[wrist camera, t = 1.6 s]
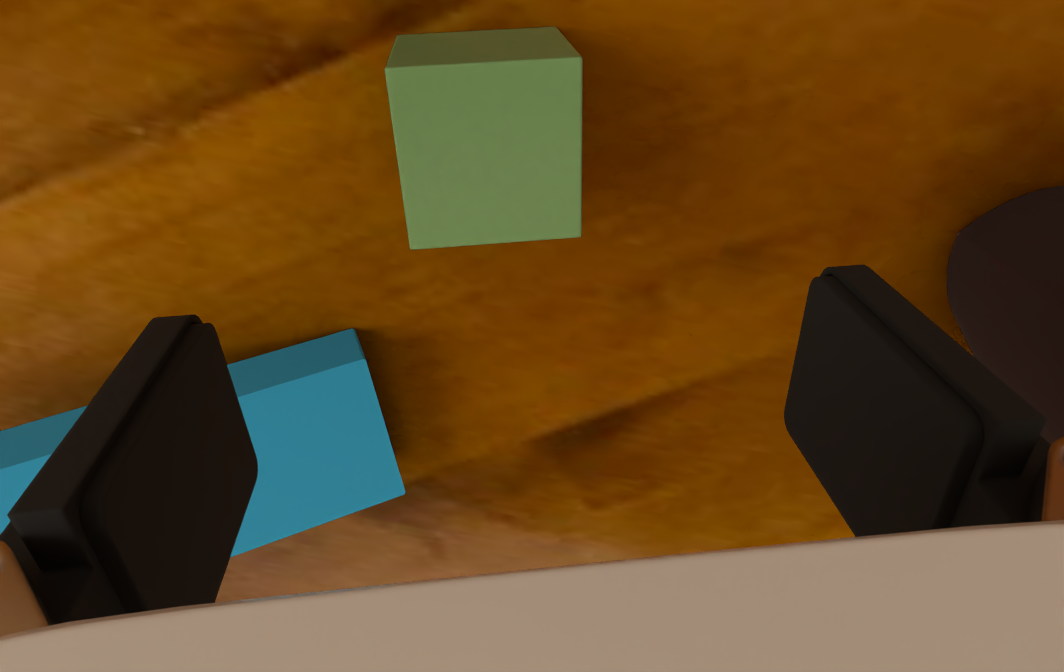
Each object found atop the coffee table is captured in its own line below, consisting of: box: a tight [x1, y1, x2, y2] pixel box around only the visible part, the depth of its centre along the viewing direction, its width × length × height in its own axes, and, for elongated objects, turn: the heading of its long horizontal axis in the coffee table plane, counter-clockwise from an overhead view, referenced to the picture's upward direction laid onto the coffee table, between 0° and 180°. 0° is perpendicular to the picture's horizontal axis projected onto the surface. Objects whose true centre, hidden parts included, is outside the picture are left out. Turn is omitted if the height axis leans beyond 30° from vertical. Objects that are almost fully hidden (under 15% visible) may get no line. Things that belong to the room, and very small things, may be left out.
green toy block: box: [385, 27, 583, 250], centre depth 21 cm, size 5×5×5 cm
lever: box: [0, 328, 405, 557], centre depth 27 cm, size 7×7×18 cm
